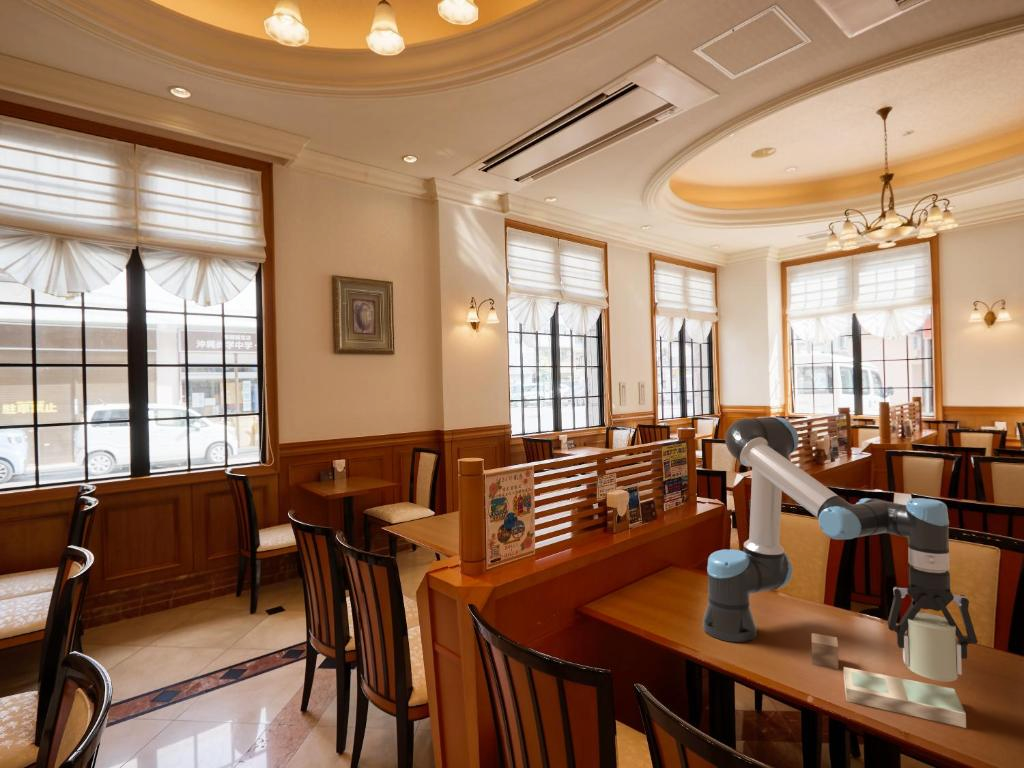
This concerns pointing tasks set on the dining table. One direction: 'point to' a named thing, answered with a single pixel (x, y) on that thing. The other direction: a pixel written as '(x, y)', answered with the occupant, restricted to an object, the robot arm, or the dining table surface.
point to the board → (904, 696)
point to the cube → (824, 651)
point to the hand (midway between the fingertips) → (931, 666)
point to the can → (932, 647)
